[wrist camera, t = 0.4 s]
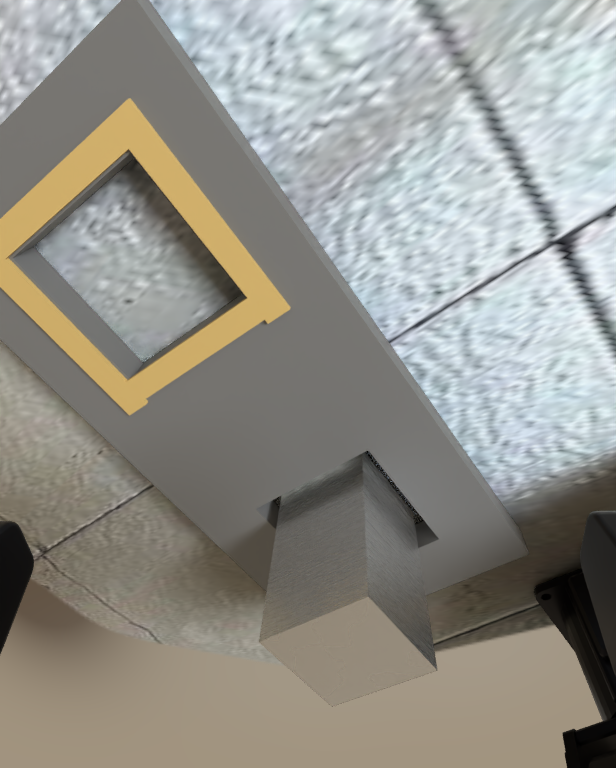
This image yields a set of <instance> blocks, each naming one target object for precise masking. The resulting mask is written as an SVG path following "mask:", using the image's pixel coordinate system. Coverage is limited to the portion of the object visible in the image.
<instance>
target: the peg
mask: <svg viewBox="0 0 616 768" xmlns="http://www.w3.org/2000/svg"><path fill="white" fill-rule="evenodd" d="M259 643H261V644H262V645H263V646H264V647H265V648H266V649H267V650H268V651H270V652H271V653H272V654H273V655H274V656H275V657H276V658H277V659H279V660H280V661H281V662H282V663H283V664H284V665H285V666H287V667H288V668H289V669H290V670H291V671H292V672H293V673H295V674H296V675H297V676H298V677H299V678H300V679H301V680H302V681H304V682H305V683H306V684H307V685H308V686H309V687H310V688H312V690H314V691H315V692H316V693H317V694H318V695H320V697H321V698H323V699H324V700H325V701H326V702H327V703H328V704H329V705H331V706H332V707H333V706H335V705H338V704H341V703H344V702H347V701H350V700H353V699H356V698H359V697H362V696H364V695H367V694H370V693H373V692H376V691H379V690H381V689H385V688H388V687H391V686H393V685H396V684H399V683H402V682H405V681H408V680H411V679H413V678H417V677H420V676H422V675H425V674H428V673H431V672H434V671H437V665H436V659H435V652H434V646H433V639H432V633H431V626H430V620H429V613H428V607H427V601H426V594H425V588H424V581H423V575H422V568H421V562H420V555H419V549H418V542H417V536H416V529H415V523H414V517H413V511H412V510H411V509H410V508H409V506H408V505H407V504H406V503H405V501H404V500H403V499H402V498H401V496H400V495H399V494H398V493H397V491H396V490H395V489H394V488H393V486H392V485H391V484H390V483H389V482H388V480H387V479H386V478H385V477H384V475H383V474H382V473H381V472H380V470H379V469H378V468H377V467H376V465H375V464H374V463H373V462H372V460H371V459H370V458H369V457H368V455H367V454H366V453H365V452H364V453H362V454H360V455H358V456H356V457H354V458H352V459H350V460H348V461H347V462H345V463H343V464H341V465H339V466H337V467H335V468H333V469H331V470H329V471H327V472H325V473H324V474H322V475H320V476H318V477H316V478H314V479H312V480H310V481H308V482H306V483H304V484H302V485H301V486H299V487H297V488H295V489H293V490H291V491H289V492H287V493H285V494H283V495H281V502H280V508H279V515H278V521H277V528H276V534H275V541H274V547H273V554H272V560H271V567H270V573H269V580H268V586H267V593H266V599H265V606H264V612H263V619H262V625H261V632H260V639H259Z"/></svg>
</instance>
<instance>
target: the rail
mask: <svg viewBox="0 0 616 768" xmlns="http://www.w3.org/2000/svg"><path fill="white" fill-rule="evenodd" d="M133 158H135V159H136V160H137V161H138V163H139V164H140V165H141V166H142V168H143V169H144V170H145V171H146V173H147V174H148V175H149V176H150V178H151V179H152V180H153V181H154V183H155V184H156V185H157V186H158V188H159V189H160V190H161V191H162V193H163V194H164V195H165V196H166V198H167V199H168V200H169V201H170V203H171V204H172V205H173V206H174V208H175V209H176V210H177V212H178V213H179V214H180V215H181V217H182V218H183V219H184V220H185V222H186V223H187V224H188V225H189V227H190V228H191V229H192V230H193V232H194V233H195V234H196V235H197V237H198V238H199V239H200V240H201V242H202V243H203V244H204V245H205V247H206V248H207V249H208V250H209V252H210V253H211V254H212V255H213V257H214V258H215V259H216V260H217V262H218V263H219V264H220V265H221V267H222V268H223V269H224V270H225V272H226V273H227V274H228V275H229V277H230V278H231V279H232V280H233V282H234V283H235V284H236V285H237V287H238V288H239V289H240V290H241V292H242V293H243V294H242V295H240V296H239V297H237V298H236V299H235V300H233V301H232V302H230V303H229V304H227V305H226V306H225V307H223V308H222V309H220V310H219V311H217V312H216V313H214V314H213V315H212V316H210V317H209V318H207V319H206V320H204V321H203V322H202V323H200V324H199V325H197V326H196V327H194V328H193V329H192V330H190V331H189V332H187V333H186V334H184V335H183V336H182V337H180V338H179V339H177V340H176V341H174V342H173V343H172V344H170V345H169V346H167V347H166V348H164V349H163V350H161V351H160V352H159V353H157V354H156V355H154V356H153V357H151V358H150V359H149V360H147V361H146V362H144V363H143V362H142V361H141V360H140V359H139V358H138V357H137V356H136V355H135V354H134V353H133V352H132V351H131V350H130V348H129V347H128V346H127V345H126V344H125V343H124V342H123V341H122V340H121V339H120V338H119V337H118V336H117V335H116V334H115V333H114V332H113V330H112V329H111V328H110V327H109V326H108V325H107V324H106V323H105V322H104V321H103V320H102V319H101V318H100V317H99V316H98V315H97V314H96V312H95V311H94V310H93V309H92V308H91V307H90V306H89V305H88V304H87V303H86V302H85V301H84V300H83V299H82V298H81V297H80V296H79V294H78V293H77V292H76V291H75V290H74V289H73V288H72V287H71V286H70V285H69V284H68V283H67V282H66V281H65V280H64V279H63V277H62V276H61V275H60V274H59V273H58V272H57V271H56V270H55V269H54V268H53V267H52V266H51V265H50V264H49V263H48V262H47V261H46V259H45V258H44V257H43V256H42V255H41V254H40V253H39V252H38V251H37V250H36V249H35V248H34V246H35V245H36V244H37V243H38V242H39V241H40V240H42V239H43V238H44V237H45V236H46V235H47V234H48V233H49V232H51V231H52V230H53V229H54V228H55V227H56V226H57V225H59V224H60V223H61V222H62V221H63V220H64V219H65V218H66V217H68V216H69V215H70V214H71V213H72V212H73V211H74V210H76V209H77V208H78V207H79V206H80V205H81V204H82V203H83V202H85V201H86V200H87V199H88V198H89V197H90V196H91V195H93V194H94V193H95V192H96V191H97V190H98V189H99V188H100V187H102V186H103V185H104V184H105V183H106V182H107V181H108V180H109V179H111V178H112V177H113V176H114V175H115V174H116V173H117V172H119V171H120V170H121V169H122V168H123V167H124V166H125V165H126V164H128V163H129V162H130V161H131V160H132V159H133ZM0 340H1V341H2V342H3V343H4V344H5V345H7V346H8V347H9V348H10V349H11V350H12V351H13V352H14V353H15V354H16V355H17V356H18V357H19V358H20V359H21V360H22V361H23V362H24V363H25V364H27V365H28V366H29V367H30V368H31V369H32V370H33V371H34V372H35V373H36V374H37V375H38V376H39V377H40V378H41V379H42V380H43V381H44V382H46V383H47V384H48V385H49V386H50V387H51V388H52V389H53V390H54V391H55V392H56V393H57V394H58V395H59V396H60V397H61V398H62V399H63V400H64V401H66V402H67V403H68V404H69V405H70V406H71V407H72V408H73V409H74V410H75V411H76V412H77V413H78V414H79V415H80V416H81V417H82V418H83V419H85V420H86V421H87V422H88V423H89V424H90V425H91V426H92V427H93V428H94V429H95V430H96V431H97V432H98V433H99V434H100V435H101V436H102V437H103V438H105V439H106V440H107V441H108V442H109V443H110V444H111V445H112V446H113V447H114V448H115V449H116V450H117V451H118V452H119V453H120V454H121V455H122V456H124V457H125V458H126V459H127V460H128V461H129V462H130V463H131V464H132V465H133V466H134V467H135V468H136V469H137V470H138V471H139V472H140V473H141V474H143V475H144V476H145V477H146V478H147V479H148V480H149V481H150V482H151V483H152V484H153V485H154V486H155V487H156V488H157V489H158V490H159V491H160V492H161V493H163V494H164V495H165V496H166V497H167V498H168V499H169V500H170V501H171V502H172V503H173V504H174V505H175V506H176V507H177V508H178V509H179V510H180V511H182V512H183V513H184V514H185V515H186V516H187V517H188V518H189V519H190V520H191V521H192V522H193V523H194V524H195V525H196V526H197V527H198V528H199V529H200V530H202V531H203V532H204V533H205V534H206V535H207V536H208V537H209V538H210V539H211V540H212V541H213V542H214V543H215V544H216V545H217V546H218V547H219V548H221V549H222V550H223V551H224V552H225V553H226V554H227V555H228V556H229V557H230V558H231V559H232V560H233V561H234V562H235V563H236V564H237V565H238V566H239V567H241V568H242V569H243V570H244V571H245V572H246V573H247V574H248V575H249V576H250V577H251V578H252V579H253V580H254V581H255V582H256V583H257V584H258V585H260V586H261V587H262V588H263V589H264V590H265V591H266V592H267V586H268V580H269V573H270V567H271V560H272V554H273V547H274V541H275V534H276V528H277V521H278V515H279V508H280V507H279V506H278V505H277V504H276V503H275V502H274V501H273V500H274V499H276V498H278V497H279V496H281V495H283V494H285V493H287V492H289V491H291V490H293V489H295V488H297V487H299V486H301V485H302V484H304V483H306V482H308V481H310V480H312V479H314V478H316V477H318V476H320V475H322V474H324V473H325V472H327V471H329V470H331V469H333V468H335V467H337V466H339V465H341V464H343V463H345V462H347V461H348V460H350V459H352V458H354V457H356V456H358V455H360V454H362V453H364V452H366V451H369V452H370V453H371V454H372V456H373V457H374V458H375V459H376V461H377V462H378V463H379V464H380V466H381V467H382V468H383V470H384V471H385V472H386V473H387V475H388V476H389V477H390V478H391V480H392V481H393V482H394V483H395V485H396V486H397V487H398V488H399V490H400V491H401V492H402V493H403V495H404V496H405V497H406V498H407V500H408V501H409V502H410V503H411V505H412V506H413V507H414V508H415V510H416V511H417V512H418V513H419V515H420V516H421V517H422V518H423V520H424V521H422V522H420V523H418V524H416V525H415V529H416V536H417V542H418V549H419V555H420V562H421V568H422V575H423V581H424V588H425V594H426V595H429V594H431V593H434V592H436V591H439V590H441V589H444V588H446V587H449V586H451V585H454V584H456V583H459V582H461V581H464V580H466V579H469V578H471V577H474V576H476V575H479V574H481V573H484V572H486V571H489V570H491V569H494V568H496V567H499V566H501V565H504V564H506V563H509V562H511V561H514V560H516V559H519V558H521V557H524V556H526V555H529V551H528V549H527V546H526V544H525V541H524V538H523V536H522V533H521V531H520V529H519V528H518V526H517V525H516V523H515V522H514V521H513V519H512V518H511V516H510V515H509V513H508V512H507V511H506V509H505V508H504V506H503V505H502V503H501V502H500V501H499V499H498V498H497V496H496V495H495V493H494V492H493V491H492V489H491V488H490V486H489V485H488V483H487V482H486V481H485V479H484V478H483V476H482V475H481V473H480V472H479V471H478V469H477V468H476V466H475V465H474V463H473V462H472V461H471V459H470V458H469V456H468V455H467V453H466V452H465V451H464V449H463V448H462V446H461V445H460V443H459V442H458V441H457V439H456V438H455V436H454V435H453V433H452V432H451V431H450V429H449V428H448V426H447V425H446V423H445V422H444V421H443V419H442V418H441V416H440V415H439V413H438V412H437V411H436V409H435V408H434V406H433V405H432V403H431V402H430V401H429V399H428V398H427V396H426V395H425V393H424V392H423V391H422V389H421V388H420V386H419V385H418V383H417V382H416V381H415V379H414V378H413V376H412V375H411V373H410V372H409V371H408V369H407V368H406V366H405V365H404V363H403V362H402V361H401V359H400V358H399V356H398V355H397V354H396V352H395V351H394V349H393V348H392V346H391V345H390V344H389V342H388V341H387V339H386V338H385V336H384V335H383V334H382V332H381V331H380V329H379V328H378V326H377V325H376V324H375V322H374V321H373V319H372V318H371V316H370V315H369V314H368V312H367V311H366V309H365V308H364V306H363V305H362V304H361V302H360V301H359V299H358V298H357V296H356V295H355V294H354V292H353V291H352V289H351V288H350V286H349V285H348V284H347V282H346V281H345V279H344V278H343V276H342V275H341V274H340V272H339V271H338V269H337V268H336V266H335V265H334V264H333V262H332V261H331V259H330V258H329V256H328V255H327V254H326V252H325V251H324V249H323V248H322V246H321V245H320V244H319V242H318V241H317V239H316V238H315V236H314V235H313V234H312V232H311V231H310V229H309V228H308V226H307V225H306V224H305V222H304V221H303V219H302V218H301V216H300V215H299V214H298V212H297V211H296V209H295V208H294V206H293V205H292V204H291V202H290V201H289V199H288V198H287V196H286V195H285V194H284V192H283V191H282V189H281V188H280V186H279V185H278V184H277V182H276V181H275V179H274V178H273V176H272V175H271V174H270V172H269V171H268V169H267V168H266V167H265V165H264V164H263V162H262V161H261V159H260V158H259V157H258V155H257V154H256V152H255V151H254V149H253V148H252V147H251V145H250V144H249V142H248V141H247V139H246V138H245V137H244V135H243V134H242V132H241V131H240V129H239V128H238V127H237V125H236V124H235V122H234V121H233V119H232V118H231V117H230V115H229V114H228V112H227V111H226V109H225V108H224V107H223V105H222V104H221V102H220V101H219V99H218V98H217V97H216V95H215V94H214V92H213V91H212V89H211V88H210V87H209V85H208V84H207V82H206V81H205V79H204V78H203V77H202V75H201V74H200V72H199V71H198V69H197V68H196V67H195V65H194V64H193V62H192V61H191V59H190V58H189V57H188V55H187V54H186V52H185V51H184V49H183V48H182V47H181V45H180V44H179V42H178V41H177V39H176V38H175V37H174V35H173V34H172V32H171V31H170V29H169V28H168V27H167V25H166V24H165V22H164V21H163V19H162V18H161V17H160V15H159V14H158V12H157V11H156V9H155V8H154V7H153V5H152V4H151V2H150V1H149V0H121V1H120V2H119V3H118V4H117V5H116V6H115V8H114V9H113V10H112V11H111V12H110V13H109V14H108V15H107V16H106V17H105V18H104V19H103V20H102V21H101V22H100V23H99V24H98V25H97V26H96V27H95V28H94V29H93V30H92V31H91V32H90V33H89V34H88V35H87V36H86V37H85V38H84V40H83V41H82V42H81V43H80V44H79V45H78V46H77V47H76V48H75V49H74V50H73V51H72V52H71V53H70V54H69V55H68V56H67V57H66V58H65V59H64V60H63V61H62V62H61V63H60V64H59V65H58V66H57V67H56V68H55V69H54V70H53V71H52V73H51V74H50V75H49V76H48V77H47V78H46V79H45V80H44V81H43V82H42V83H41V84H40V85H39V86H38V87H37V88H36V89H35V90H34V91H33V92H32V93H31V94H30V95H29V96H28V97H27V98H26V99H25V100H24V101H23V102H22V103H21V105H20V106H19V107H18V108H17V109H16V110H15V111H14V112H13V113H12V114H11V115H10V116H9V117H8V118H7V119H6V120H5V121H4V122H3V123H2V124H1V125H0Z"/></svg>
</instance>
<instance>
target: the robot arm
mask: <svg viewBox="0 0 616 768" xmlns="http://www.w3.org/2000/svg"><path fill="white" fill-rule="evenodd" d="M580 560H581V566H582V569H580V570H577V571H575V572H572V573H569V574H567V575H564V576H561V577H559V578H556V579H553V580H551V581H548V582H545V583H543V584H540V585H538V586H536V587H535V589H534V594H535V596H536V599H537V601H538V602H539V604H540V605H541V607H542V608H543V609H544V611H545V612H546V613H547V615H548V616H549V617H550V619H551V620H552V621H553V623H554V624H555V625H556V627H557V628H558V629H559V631H560V632H561V634H562V635H563V636H564V638H565V639H566V640H567V641H568V643H569V644H570V646H571V647H572V648H573V650H574V651H575V653H576V655H577V658H578V660H579V663H580V665H581V668H582V670H583V673H584V675H585V677H586V680H587V683H588V685H589V688H590V690H591V693H592V695H593V698H594V700H595V703H596V705H597V708H598V710H599V713H600V715H601V717H602V720H603V721H602V722H599V723H597V724H594V725H591V726H588V727H585V728H582V729H579V730H575V729H572V730H569V731H566V732H563V740H564V745H565V751H566V752H565V758H566V763H567V768H616V511H594V512H591V513H590V514H589V516H588V518H587V521H586V526H585V531H584V536H583V541H582V546H581V552H580ZM33 567H34V559H33V555H32V553H31V550H30V548H29V546H28V544H27V542H26V540H25V537H24V535H23V533H22V531H21V529H20V527H19V525H18V524H16V523H15V522H12V521H0V654H1V651H2V649H3V647H4V644H5V642H6V639H7V636H8V634H9V631H10V629H11V626H12V623H13V621H14V618H15V616H16V613H17V611H18V608H19V605H20V603H21V600H22V598H23V595H24V592H25V590H26V587H27V584H28V582H29V580H30V577H31V574H32V571H33Z"/></svg>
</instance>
